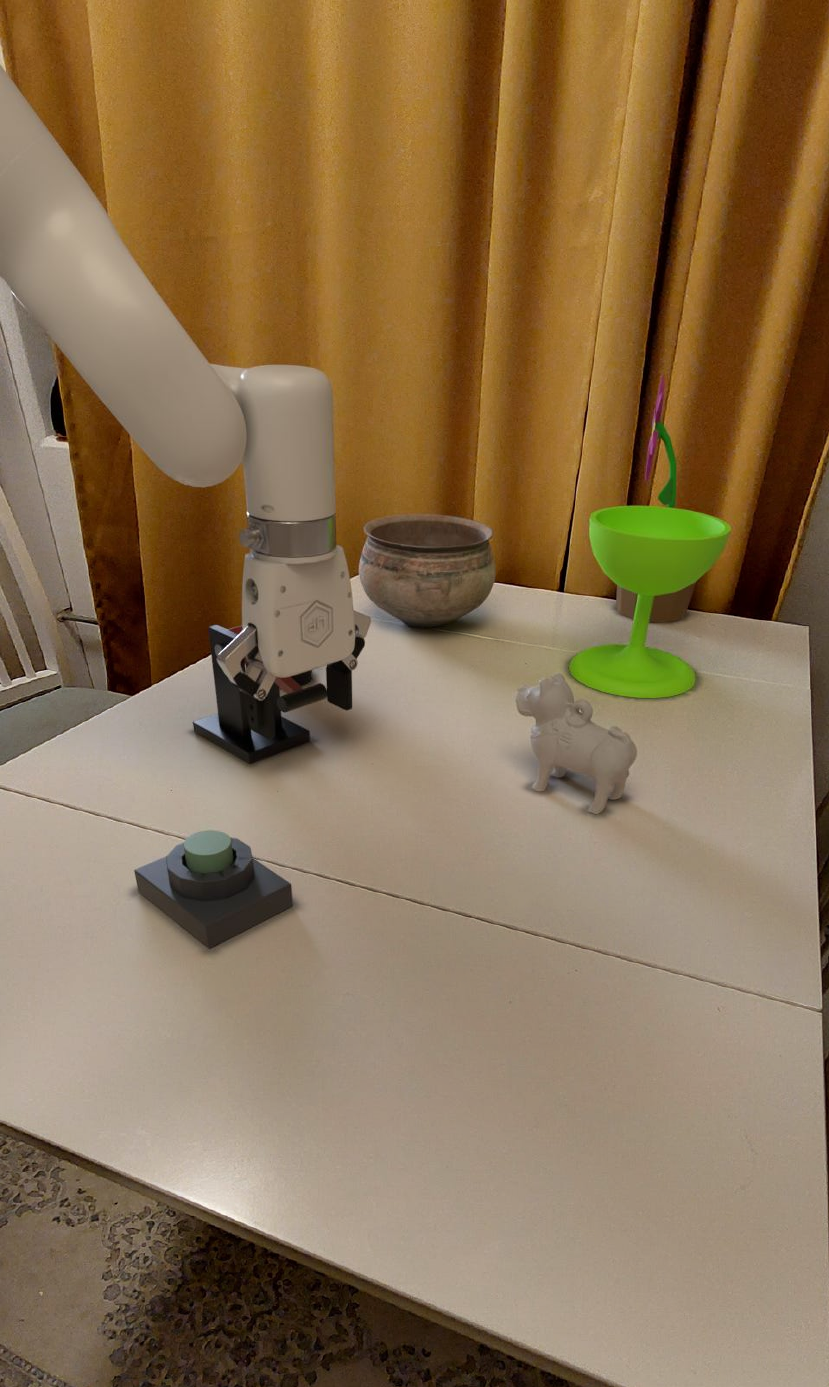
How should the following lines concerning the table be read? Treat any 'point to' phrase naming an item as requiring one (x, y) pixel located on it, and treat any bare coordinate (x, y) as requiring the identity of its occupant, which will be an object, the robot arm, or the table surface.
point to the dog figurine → (574, 740)
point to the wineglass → (647, 591)
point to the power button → (208, 851)
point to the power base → (214, 893)
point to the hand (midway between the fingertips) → (302, 719)
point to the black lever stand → (243, 714)
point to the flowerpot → (677, 602)
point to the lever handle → (293, 690)
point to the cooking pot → (427, 567)
